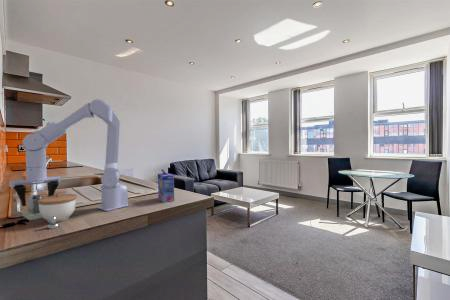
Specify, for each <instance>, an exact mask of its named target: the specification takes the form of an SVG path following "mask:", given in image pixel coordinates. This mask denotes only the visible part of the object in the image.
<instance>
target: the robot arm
mask: <svg viewBox="0 0 450 300" xmlns="http://www.w3.org/2000/svg"><path fill="white" fill-rule="evenodd" d="M95 116H96V117H97V118H99V119H101V120H102V121H103V122H105V124H107V132H106V149H105V162H104V163H105V165H104V169H103V171H104V172H103V174H102V175H101V177H100V182H101V184H102V185H100V189H101V190H100V191H101V192H100V193H101V196H100V197H101V205H99V206H97V207H96V208H97V209H100V210H103V211H105V212H108V211H113V210H118V209H120V208H125V207H128V206H129V203H128V202H129V201H128V198H129V197H128V196H129V195H128V192H129V191H128V188H127V186H126V185H125V184H121V183H120V182H119V180H120V178H121V175H120V172H119V153H120V152H119V151H120V149H119V148H120V132H121V120H120V118H119V117H118V115H117V113H115V111H114V110H113V108H112V107H111V105H109V103H107V102H106V101H104V100H103V99H100V98H99V99H98V98H97V99H96V98H95V99H94V100H91V102H87V103H85V104H84V105H82V106H81V107H80V108H78V109H76V110H75V111H73V112H72V113H71V114H69V115H68V116H67V117H65V118H64V119H62V120H61V121H52V122H47V123H46V125H45V126H44V127H42V128H40V129H39V130H35V131H34V132H33V133H30V134H27V135H26V136H25V137H24V138H23V140H22V145H23V147H24V148H25V171H26V172H25V174H26V175H25V176H26V178H25V179H16V180H10V181H8V182H9V183H8V185H9V186H8V187H10V188H13V190H14V191H15V192H16V194H17V195H18V197H19V200H20V203H21V207H25V206H26V205H27V203H26V187H25V186H30V185H31V186H32V185H40V184H47V197H48V196H53V195H55V192H56V190H57V188H58V186H59V185H60V184H59V183H60V182H62V177H61V176H60V175H59V176H58V175H57V176H47V152H46V151H47V150H46V149H47V148H48V146H49V144H51V143H53V142H55V141H56V140H59V139H60V138H61V137H63V136H64V135H66V134H67V132H66V131H67V129H68V128H70V127H71V126H74V125H75V124H77V123H78V122H79V123H80V121H82V120H84V119H87V118H95ZM26 207H27V206H26Z"/></svg>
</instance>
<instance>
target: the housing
mask: <svg viewBox="0 0 450 300" xmlns="http://www.w3.org/2000/svg"><path fill="white" fill-rule="evenodd" d="M44 197H45V196H43V195H41V194H33V195H31V196H28V197H27V210H28V211H29V212H31V213H32V214H39V213H40V212H39V203H38V200H39V199H41V198H44Z"/></svg>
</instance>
